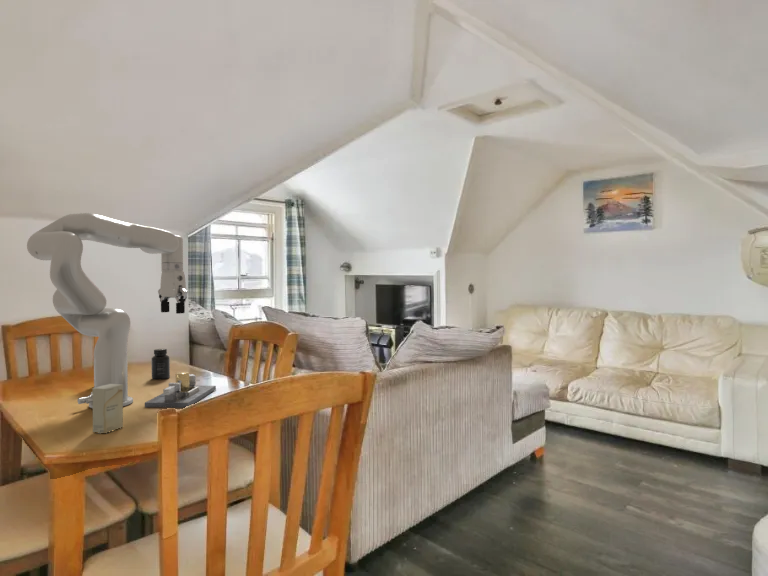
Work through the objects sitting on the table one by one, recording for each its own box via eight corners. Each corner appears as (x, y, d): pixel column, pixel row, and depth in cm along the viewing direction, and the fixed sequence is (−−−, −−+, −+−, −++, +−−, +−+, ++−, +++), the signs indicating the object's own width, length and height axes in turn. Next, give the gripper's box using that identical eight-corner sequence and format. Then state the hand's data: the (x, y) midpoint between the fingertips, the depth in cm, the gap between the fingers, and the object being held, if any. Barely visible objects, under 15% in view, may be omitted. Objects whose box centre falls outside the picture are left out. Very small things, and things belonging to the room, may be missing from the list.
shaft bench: (187, 407, 152) (187, 387, 151) (144, 407, 152) (144, 387, 152) (215, 389, 176) (215, 372, 175) (178, 389, 176) (178, 372, 176)
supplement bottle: (173, 376, 198) (172, 348, 198) (164, 380, 191) (163, 350, 191) (157, 376, 199) (157, 348, 199) (148, 379, 192) (147, 350, 192)
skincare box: (105, 434, 126) (104, 389, 125) (91, 433, 127) (91, 388, 127) (124, 427, 132) (123, 384, 131) (111, 425, 133) (110, 383, 133)
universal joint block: (186, 395, 161) (185, 374, 161) (173, 395, 161) (172, 375, 161) (192, 391, 167) (192, 371, 167) (180, 391, 167) (179, 371, 167)
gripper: (195, 267, 178) (195, 313, 178) (168, 268, 187) (168, 311, 187) (176, 267, 171) (177, 314, 172) (149, 267, 181) (150, 312, 181)
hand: (172, 312), depth 180 cm, fingers open, 9 cm apart
